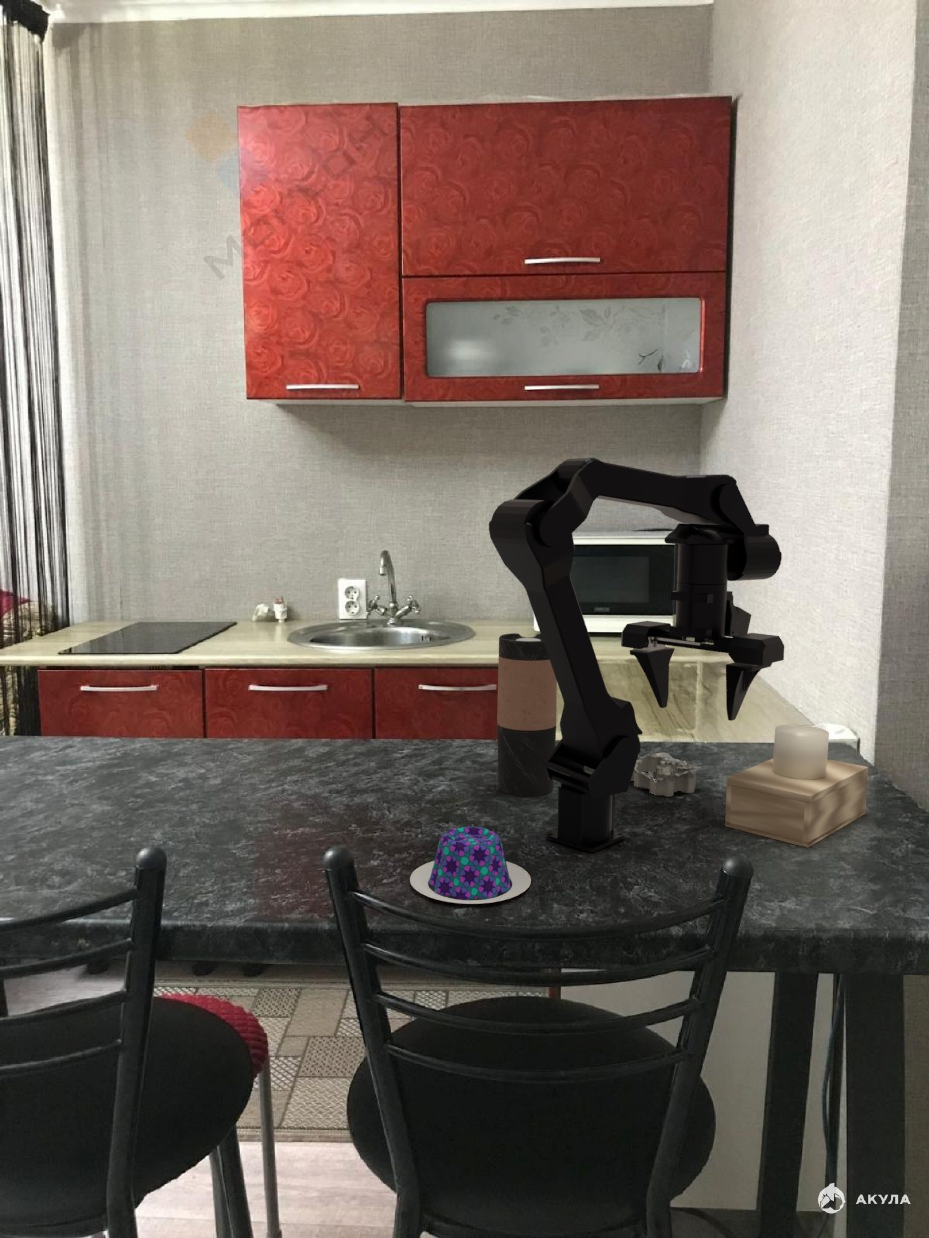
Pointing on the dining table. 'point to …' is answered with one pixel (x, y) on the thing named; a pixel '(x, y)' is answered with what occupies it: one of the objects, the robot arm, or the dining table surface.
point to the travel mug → (525, 715)
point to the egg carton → (664, 774)
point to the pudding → (470, 869)
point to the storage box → (795, 813)
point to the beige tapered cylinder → (800, 751)
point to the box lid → (797, 781)
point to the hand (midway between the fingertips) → (696, 713)
